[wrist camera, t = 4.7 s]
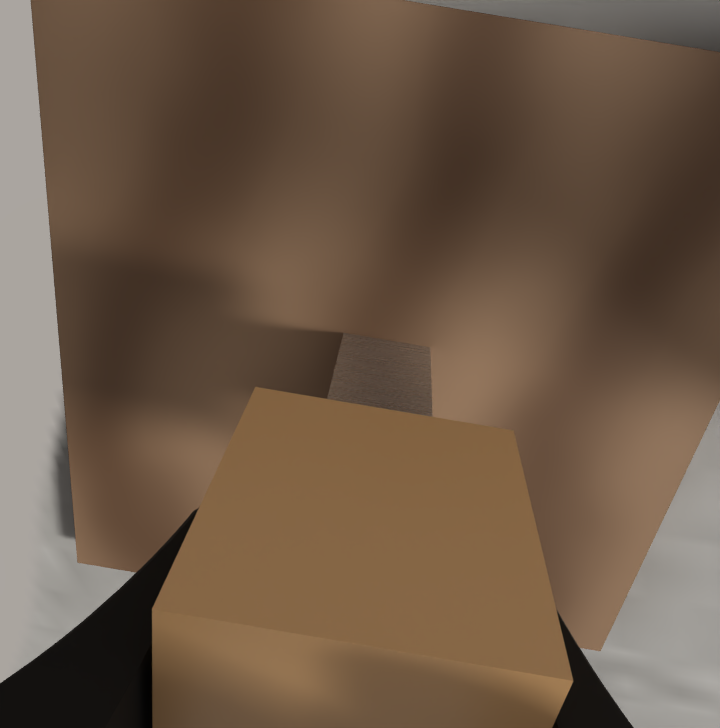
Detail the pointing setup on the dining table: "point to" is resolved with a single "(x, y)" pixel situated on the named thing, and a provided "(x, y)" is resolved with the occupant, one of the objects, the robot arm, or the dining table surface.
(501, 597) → the tan wooden cube
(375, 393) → the post
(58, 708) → the robot arm
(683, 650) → the dining table surface
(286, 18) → the base board
